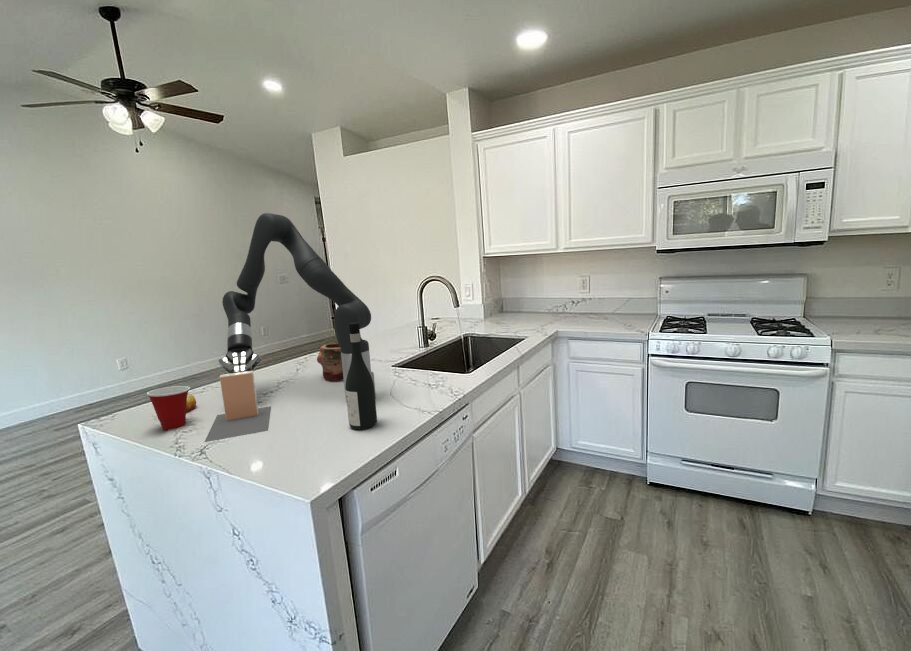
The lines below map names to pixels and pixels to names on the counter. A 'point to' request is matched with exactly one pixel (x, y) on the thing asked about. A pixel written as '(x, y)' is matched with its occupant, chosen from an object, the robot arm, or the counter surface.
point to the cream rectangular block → (239, 395)
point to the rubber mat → (239, 425)
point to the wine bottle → (359, 386)
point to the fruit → (190, 402)
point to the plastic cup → (170, 405)
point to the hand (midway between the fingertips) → (240, 383)
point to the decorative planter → (331, 362)
